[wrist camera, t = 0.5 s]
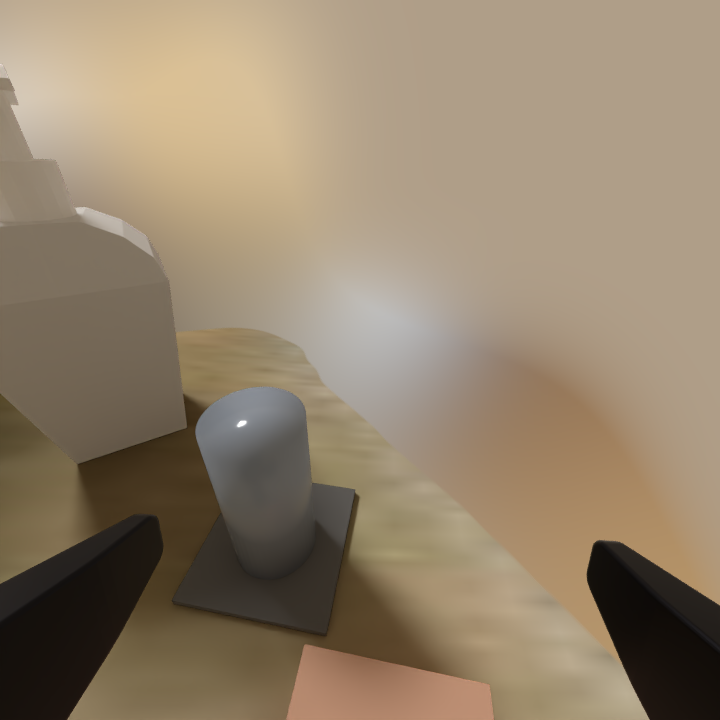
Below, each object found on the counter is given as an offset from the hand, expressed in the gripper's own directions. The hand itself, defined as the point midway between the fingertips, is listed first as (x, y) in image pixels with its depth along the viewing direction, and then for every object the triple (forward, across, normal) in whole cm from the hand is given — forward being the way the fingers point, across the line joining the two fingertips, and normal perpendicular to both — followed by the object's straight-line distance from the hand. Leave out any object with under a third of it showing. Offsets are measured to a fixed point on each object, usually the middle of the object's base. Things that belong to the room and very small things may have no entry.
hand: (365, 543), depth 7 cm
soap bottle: (+22, +24, +8) cm, 34 cm away
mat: (+12, +7, +12) cm, 18 cm away
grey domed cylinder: (+12, +7, +12) cm, 18 cm away
